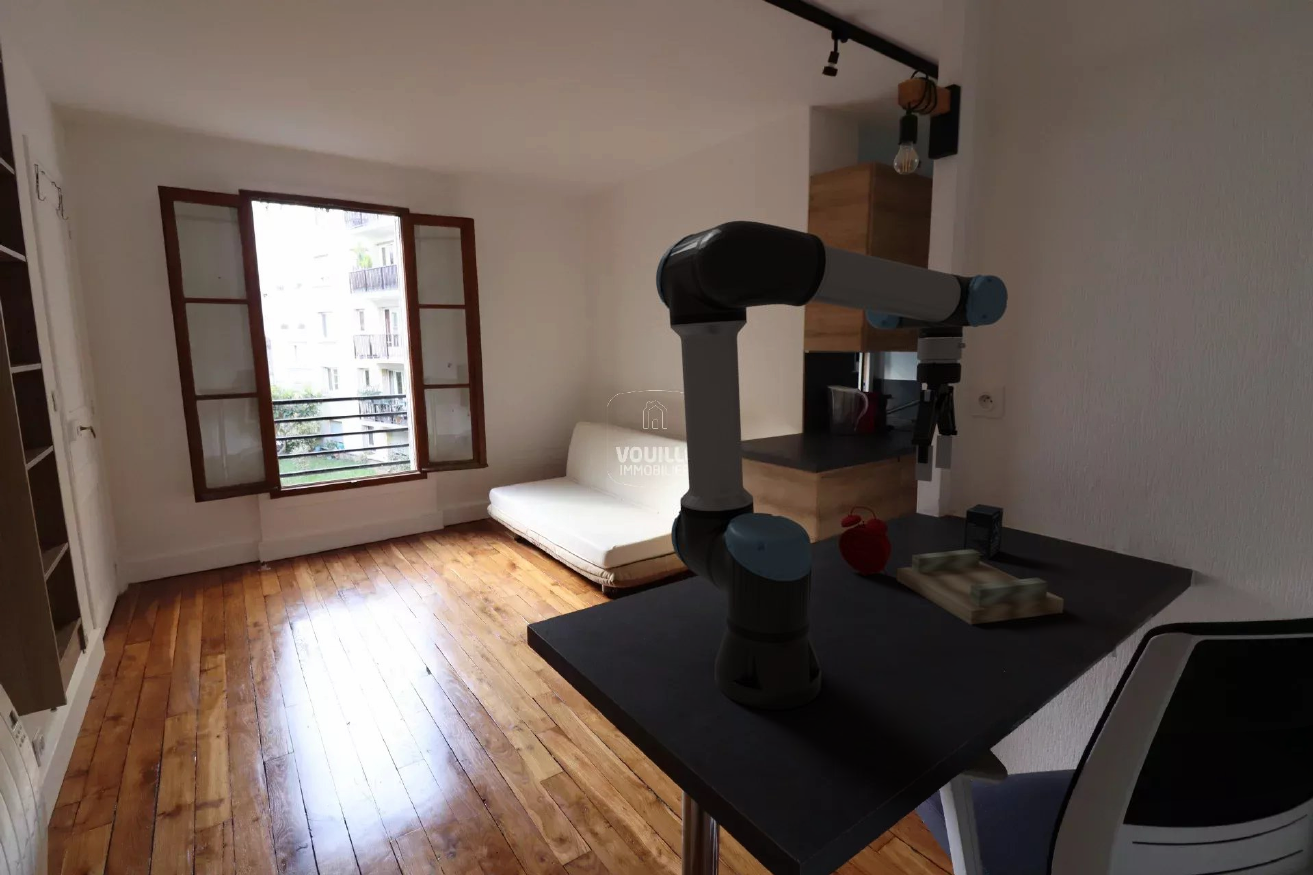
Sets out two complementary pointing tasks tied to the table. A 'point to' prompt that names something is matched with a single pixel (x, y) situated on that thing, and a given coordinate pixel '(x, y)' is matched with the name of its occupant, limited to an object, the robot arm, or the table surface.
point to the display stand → (977, 588)
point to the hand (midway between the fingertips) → (933, 474)
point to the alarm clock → (865, 544)
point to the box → (983, 530)
